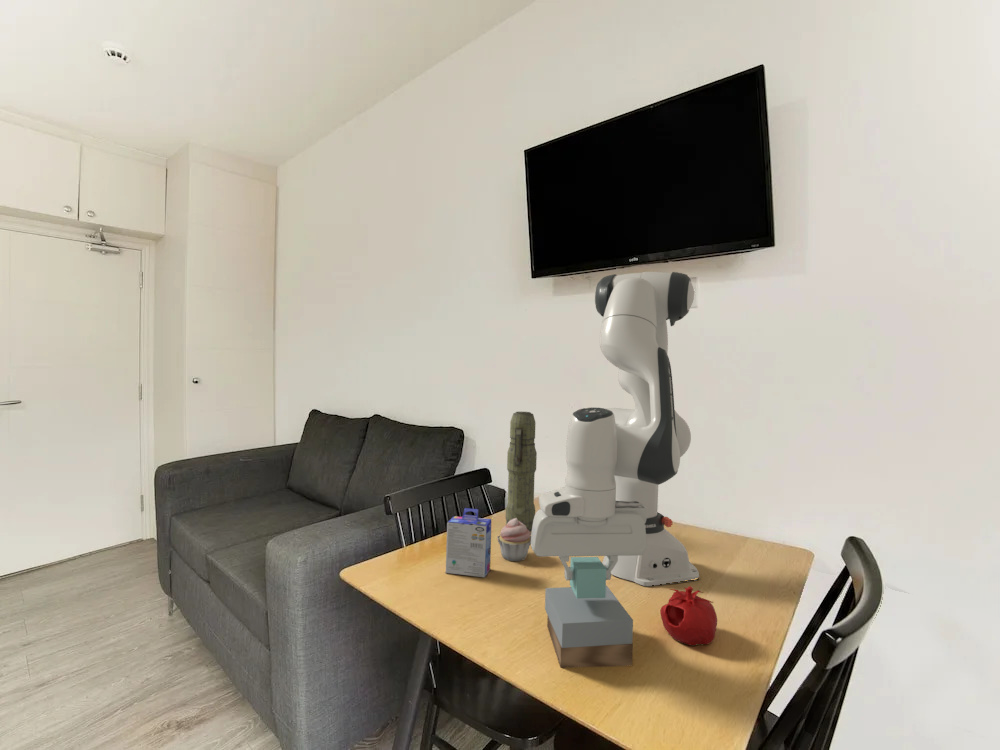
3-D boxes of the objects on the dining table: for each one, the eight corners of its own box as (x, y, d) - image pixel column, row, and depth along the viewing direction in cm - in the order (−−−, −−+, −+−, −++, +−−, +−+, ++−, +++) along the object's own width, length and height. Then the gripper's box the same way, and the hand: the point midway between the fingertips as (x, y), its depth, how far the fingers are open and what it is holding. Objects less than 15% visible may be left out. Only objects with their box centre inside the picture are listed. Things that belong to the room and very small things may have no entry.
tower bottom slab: (609, 627, 89) (609, 607, 89) (631, 668, 77) (632, 644, 77) (547, 628, 88) (547, 608, 88) (560, 670, 76) (561, 646, 76)
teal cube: (596, 584, 85) (597, 556, 85) (605, 597, 80) (606, 568, 80) (569, 584, 84) (570, 557, 84) (576, 598, 79) (577, 569, 79)
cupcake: (531, 566, 114) (532, 525, 114) (493, 562, 116) (494, 522, 115) (534, 551, 123) (535, 513, 123) (499, 548, 125) (500, 511, 125)
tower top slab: (606, 606, 89) (606, 585, 89) (632, 643, 77) (633, 619, 77) (545, 609, 87) (545, 588, 87) (561, 647, 75) (562, 623, 75)
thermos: (536, 522, 146) (539, 411, 146) (532, 535, 135) (535, 414, 134) (508, 519, 148) (511, 409, 147) (502, 532, 136) (505, 413, 136)
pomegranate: (708, 623, 90) (710, 576, 90) (724, 655, 80) (726, 602, 80) (655, 617, 92) (657, 571, 92) (665, 648, 82) (666, 596, 82)
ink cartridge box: (491, 568, 112) (492, 508, 112) (486, 578, 107) (487, 516, 106) (452, 564, 114) (453, 505, 114) (444, 573, 109) (446, 512, 108)
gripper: (640, 496, 86) (637, 570, 86) (530, 495, 84) (528, 571, 84) (654, 506, 80) (651, 586, 80) (536, 506, 78) (533, 588, 78)
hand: (587, 578), depth 82 cm, fingers closed on teal cube, 5 cm apart
